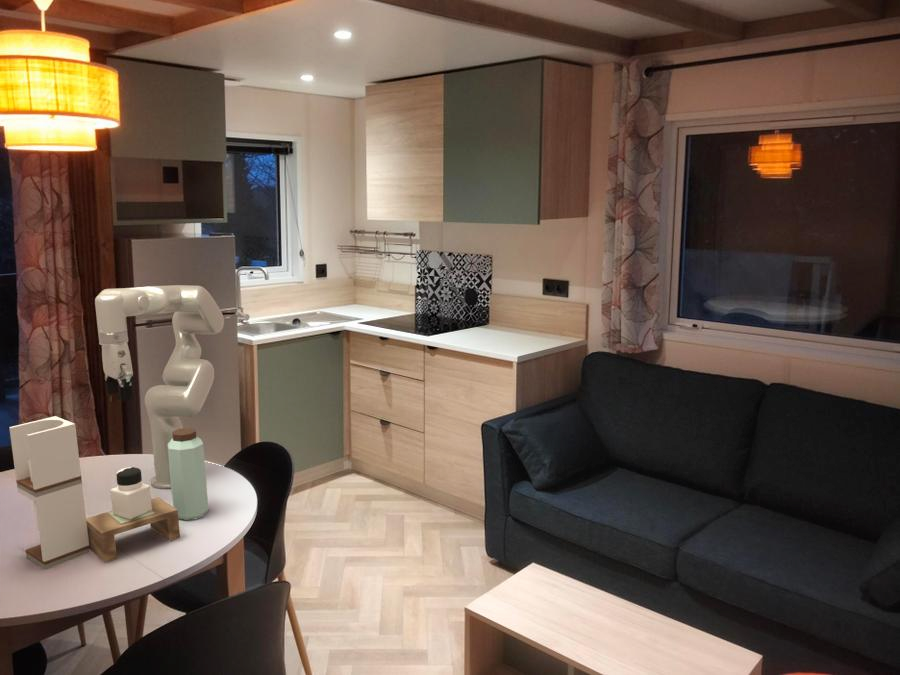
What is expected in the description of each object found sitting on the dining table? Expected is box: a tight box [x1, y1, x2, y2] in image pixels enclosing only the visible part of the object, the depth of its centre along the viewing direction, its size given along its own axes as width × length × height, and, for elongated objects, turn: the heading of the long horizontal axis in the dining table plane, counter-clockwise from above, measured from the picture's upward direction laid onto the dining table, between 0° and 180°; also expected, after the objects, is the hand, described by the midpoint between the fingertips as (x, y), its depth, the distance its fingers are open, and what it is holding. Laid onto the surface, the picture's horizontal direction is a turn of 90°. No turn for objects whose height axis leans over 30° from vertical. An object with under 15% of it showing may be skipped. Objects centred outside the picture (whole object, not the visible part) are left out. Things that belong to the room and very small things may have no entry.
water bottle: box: [168, 427, 209, 521], centre depth 227 cm, size 10×10×25 cm
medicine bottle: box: [109, 466, 152, 520], centre depth 210 cm, size 7×7×12 cm
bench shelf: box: [86, 496, 181, 563], centre depth 212 cm, size 20×12×8 cm, turn 133°
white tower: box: [8, 415, 91, 570], centre depth 203 cm, size 11×11×35 cm
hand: (119, 396), depth 227 cm, fingers open, 9 cm apart
